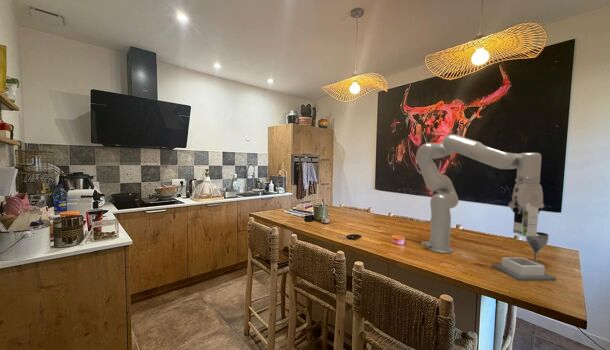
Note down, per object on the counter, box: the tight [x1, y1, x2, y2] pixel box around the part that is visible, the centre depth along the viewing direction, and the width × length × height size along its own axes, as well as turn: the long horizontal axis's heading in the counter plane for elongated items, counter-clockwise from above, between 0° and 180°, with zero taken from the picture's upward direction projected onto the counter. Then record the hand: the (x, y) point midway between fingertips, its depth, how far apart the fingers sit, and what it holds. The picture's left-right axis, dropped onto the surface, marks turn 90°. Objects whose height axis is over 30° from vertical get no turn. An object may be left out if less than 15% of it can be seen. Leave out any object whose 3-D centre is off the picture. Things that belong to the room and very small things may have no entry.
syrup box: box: [512, 203, 539, 237], centre depth 108 cm, size 6×6×14 cm
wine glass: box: [525, 231, 549, 267], centre depth 119 cm, size 8×8×15 cm
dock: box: [491, 256, 557, 281], centre depth 109 cm, size 16×14×5 cm
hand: (525, 222), depth 108 cm, fingers closed on syrup box, 5 cm apart
